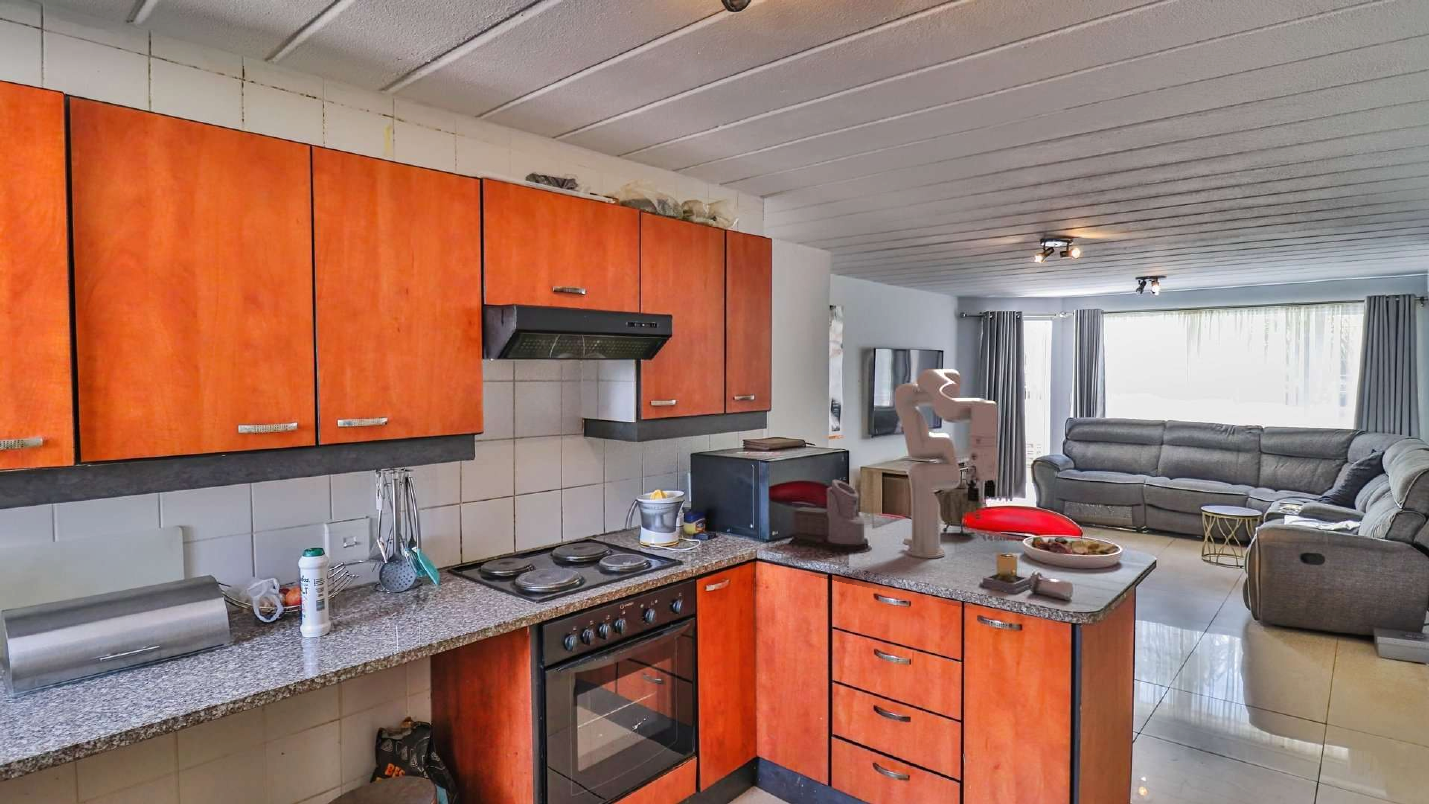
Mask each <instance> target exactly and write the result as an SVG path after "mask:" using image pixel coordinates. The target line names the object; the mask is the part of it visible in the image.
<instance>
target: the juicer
mask: <svg viewBox="0 0 1429 804" xmlns="http://www.w3.org/2000/svg"><path fill="white" fill-rule="evenodd" d="M859 498H860V496H859V492H857V490H856V489H854V488H853V487H852V486H851V485H849V484H848V483H846V482H844V481H842V480H839V479H832V481H831V486H830V487H828V488H826V508H819V507H810V506H808V507H807V506H802V507H799V508H796V509H793V512H792V513H791V515H792V517H791V518H792V531H793V532H794V533H795V534H794V536H793V537H792V538H791V539H790V540H789V541H788V543H787V545H788V546H795V545H797V547H802V548H803V547H805V548H810V549H811V548H812V549H818V548H823V549H822V550H825V549H826V550H825V551H827V552H831V551H833V552H832V553H836V552H838V553H837V554H851V553H853V555H859V554H865V553H866V554H867V553H869V552H871V551H872V550H873V548H872V546H871V545H869V540H868V539H867V538H865V519H864V518H863V517H862V516H861V515H860V512H859V511H860V509H859V508H860V503H859V501H860V500H859ZM858 553H859V554H858Z"/></svg>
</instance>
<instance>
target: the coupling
mask: <svg viewBox="0 0 1429 804" xmlns="http://www.w3.org/2000/svg"><path fill="white" fill-rule="evenodd" d="M995 568H996V572H995V573H996V580H1000V581H1004V582H1009V583H1015V582H1017V575H1018V556H1017V555H1016V554H1013V553H996V567H995Z"/></svg>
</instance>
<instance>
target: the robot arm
mask: <svg viewBox="0 0 1429 804" xmlns="http://www.w3.org/2000/svg"><path fill="white" fill-rule="evenodd" d="M962 386H963V381H962V376H961V374H960V373H959V371H957V370H955V369H952V368H933V369H926V370H923V371H922V372H920V373H919V375H918V376H917V379H916V382H907V383H902V384H900V385H898V386H897V387H896V388H895V391H894V395H893V403H894V408H895V412H896V414H897V416H898V417H899V420H900V422H901V424H902V425H901V426H902V429H903V434H904V440H905V445H906V449H907V453H908V456H909V457H910V459H911V460H914V461H932V462H920V463H919V462H918V463H916V464H913V465H912V466H911V467H910V469H909V470H908V473H907V474H908V475H907V476H908V481H909V487H910V495H911V496H910V497H911V499H910V500H911V538H907V537H905V538H904V540H903V541H902V544H903V546H904V545H905V546H908V548H907V549H906V553H907V555H909V556H910V557H916V558H922V559H937V558H943V557H944V556H946V551H945V550H944V549H942V548H941V516H940V502H939V501H940V499H939V498H938V497H937V496H936V494H935V492H934V491H942V490H949V489H954V488H956V487H958V485H959V484H960V477H961V471H960V470H961V469H960V467H959V461H958V457H957V453H956V449H955V444H954V441H953V440H952V438H951V436H949V435H948V433H945V432H931V431H930V429H929V424H928V421H927V419H926V417H925V416H924V415H923V413H922V412H920V410H918V409H917V408H916V407H932V409H933V411H934V413H935V415H936V416H937V417H939V418H940V419H942V420H943V421H944V422H947V423H951V424H955V423H956V424H957V423H959V424H962V423H969V453H968V462H967V463H968V464H967V471H968V472H967V473H966V472H965V475H964V476H965V478H966V480H965V483H966V484H967V487H968V501H974V502H978V501H979V494H980V488H979V485H980V482H982V483H984V490H983V491H984V493H983V494H984V496H985V497H990V498H995V497H996V484H997V478H998V477H999V457H998V448H997V442H998V441H997V438H998V437H997V432H998V404H997V403H996V401H993V400H986V399H984V398H982V397H959V395H960V390H961V388H962ZM934 461H937V462H934ZM942 556H943V557H942Z"/></svg>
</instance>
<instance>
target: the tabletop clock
mask: <svg viewBox="0 0 1429 804" xmlns="http://www.w3.org/2000/svg"><path fill="white" fill-rule="evenodd" d="M959 470H960V472H962V473H963V472H965V474H966V473H967V472H968V470H966V469H959ZM939 502H940V520H942V521H943V523H944V524H945V525H946V527H944V528H943V529H942V531H943V533H947V532H948V529H949V527H959V528H960V532H959V534H960V535H961V536H964V535H965V531H964V527H966V528H967V527H968V526H967V525H966V524H962V519H963V517H964V518H965V517H966V516H964V515H965V514H967V513H971V512H973V511H976V510H981V509H982V510H983V507H982V506H983V505H982V504H983V503H982V497H981V494H980V493H979V501H978V502H974V501H968V487H967V483H966V477H965V478H963V477H962V476H960V484H959V485H958V487H956V488H954V489H949V490H940V493H939ZM980 512H981V511H980ZM977 513H978V512H977ZM971 514H974V515H973V517H975V516H980V515H981V516H982V514H976V515H975V513H971ZM967 519H970V517H969V518H967ZM975 519H980V518H979V517H976V518H975Z"/></svg>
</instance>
